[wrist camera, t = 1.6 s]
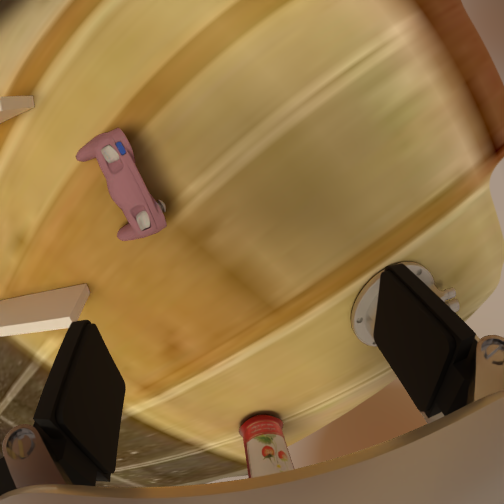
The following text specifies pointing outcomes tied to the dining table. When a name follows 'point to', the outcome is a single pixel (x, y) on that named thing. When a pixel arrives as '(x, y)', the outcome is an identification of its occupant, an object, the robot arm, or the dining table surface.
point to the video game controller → (125, 184)
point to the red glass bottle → (265, 446)
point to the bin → (45, 303)
